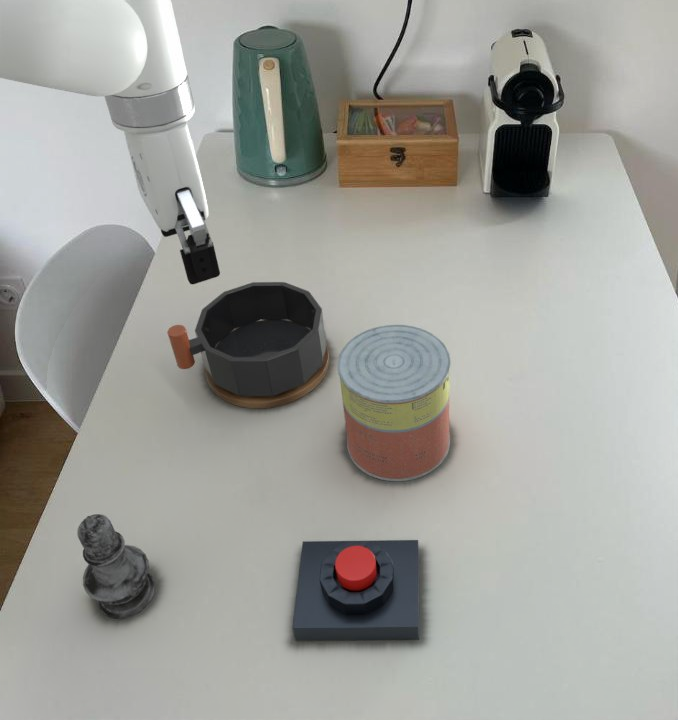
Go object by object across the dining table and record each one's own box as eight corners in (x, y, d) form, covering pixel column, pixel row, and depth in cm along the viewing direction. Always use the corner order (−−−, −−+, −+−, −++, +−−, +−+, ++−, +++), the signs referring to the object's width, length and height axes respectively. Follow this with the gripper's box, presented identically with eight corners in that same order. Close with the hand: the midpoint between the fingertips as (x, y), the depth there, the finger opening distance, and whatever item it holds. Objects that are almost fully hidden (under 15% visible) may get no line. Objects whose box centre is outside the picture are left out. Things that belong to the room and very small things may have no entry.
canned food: (471, 447, 88) (473, 367, 80) (386, 499, 83) (380, 419, 75) (409, 390, 95) (405, 310, 87) (327, 434, 90) (316, 355, 82)
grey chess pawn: (170, 575, 77) (137, 498, 69) (135, 629, 73) (96, 554, 65) (118, 559, 79) (80, 481, 71) (81, 611, 75) (36, 534, 67)
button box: (295, 641, 72) (289, 617, 69) (305, 554, 79) (300, 530, 76) (419, 639, 72) (418, 616, 69) (418, 553, 78) (417, 528, 76)
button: (335, 591, 71) (333, 580, 70) (338, 556, 74) (336, 545, 73) (376, 591, 71) (374, 580, 70) (377, 556, 74) (376, 545, 73)
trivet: (229, 426, 91) (228, 420, 91) (190, 349, 101) (188, 343, 101) (349, 379, 96) (349, 373, 96) (301, 310, 106) (300, 305, 106)
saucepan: (203, 427, 90) (186, 372, 84) (167, 352, 100) (150, 298, 94) (345, 372, 96) (338, 317, 90) (298, 307, 105) (290, 253, 99)
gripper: (88, 75, 78) (134, 225, 89) (132, 149, 66) (179, 311, 78) (164, 57, 80) (200, 206, 92) (220, 127, 69) (252, 287, 80)
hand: (190, 254), depth 85 cm, fingers open, 9 cm apart
